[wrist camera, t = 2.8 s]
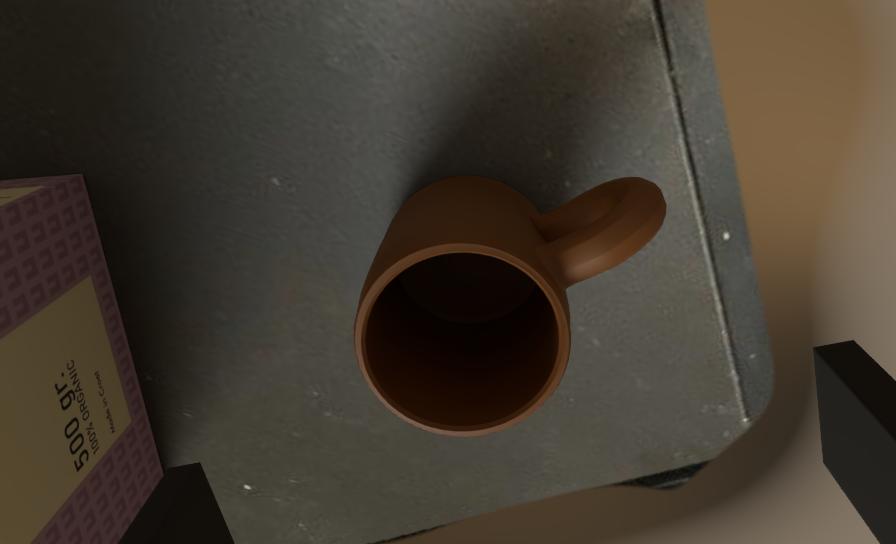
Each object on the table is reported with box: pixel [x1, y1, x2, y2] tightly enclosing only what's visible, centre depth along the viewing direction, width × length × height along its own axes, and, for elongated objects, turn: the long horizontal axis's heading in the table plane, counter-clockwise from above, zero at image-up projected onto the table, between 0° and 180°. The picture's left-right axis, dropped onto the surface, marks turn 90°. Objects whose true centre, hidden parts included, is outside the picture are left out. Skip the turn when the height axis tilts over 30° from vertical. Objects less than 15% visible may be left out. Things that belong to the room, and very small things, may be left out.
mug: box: [354, 176, 666, 436], centre depth 29 cm, size 12×8×9 cm, turn 126°
